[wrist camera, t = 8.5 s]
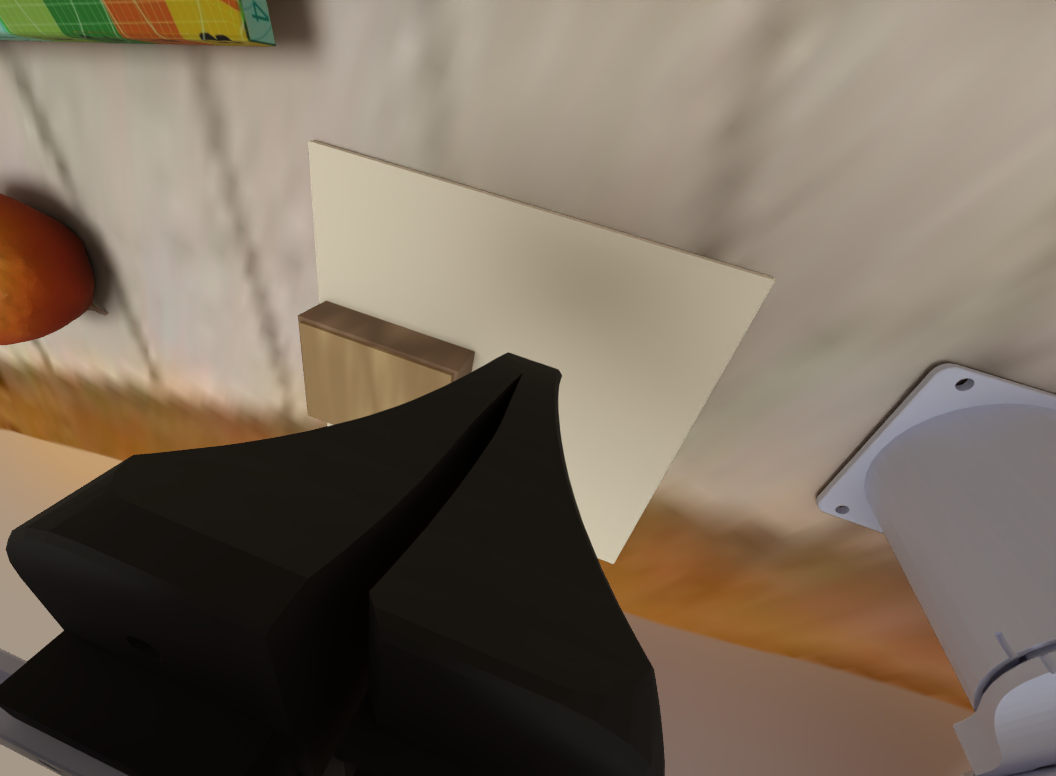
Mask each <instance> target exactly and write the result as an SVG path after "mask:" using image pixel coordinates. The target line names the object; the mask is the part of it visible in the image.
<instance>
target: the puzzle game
mask: <svg viewBox="0 0 1056 776" xmlns="http://www.w3.org/2000/svg"><path fill="white" fill-rule="evenodd" d="M0 40H19V41H61V42H102V43H143V44H185V45H226V46H276V44H275V39H274V35H273V30H272V25H271V20H270V16H269V11H268V6H267V2H266V0H0Z"/></svg>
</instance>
